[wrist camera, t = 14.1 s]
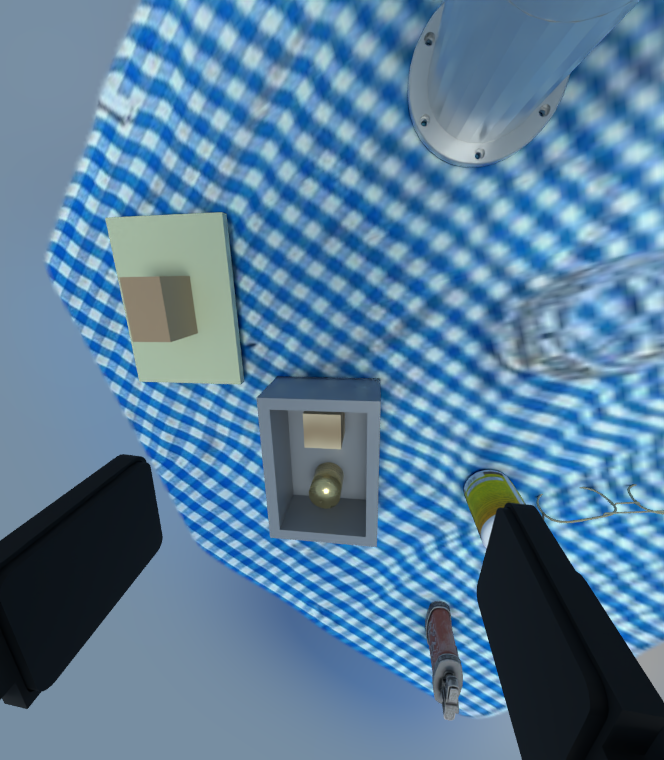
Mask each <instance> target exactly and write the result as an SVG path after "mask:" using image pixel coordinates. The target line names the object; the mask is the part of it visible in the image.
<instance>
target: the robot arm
mask: <svg viewBox="0 0 664 760" xmlns="http://www.w3.org/2000/svg"><path fill="white" fill-rule="evenodd" d="M639 1H640V0H445V1H444V2H443V4H442V5H441V6H440V7H439V8H438V9H437V10H436V12H435V13H434V14H433V15H432V17H431V19H430V20H429V22H428V23H427V25H426V26H425V28H424V30H423V32H422V34H421V36H420V38H419V41H418V43H417V45H416V47H415V51H414V54H413V58H412V62H411V65H410V72H409V78H408V105H409V113H410V116H411V119H412V123H413V126H414V128H415V130H416V132H417V134H418V136H419V138H420V140H421V141H422V142H423V143H424V145H425V146H426V147H427V148H428V149H429V151H431V152H432V153H433V154H434V155H436V156H437V157H438V158H440V159H441V160H444V161H446V162H448V163H450V164H452V165H457V166H462V167H482V166H486V165H491V164H495V163H497V162H499V161H502V160H504V159H506V158H508V157H510V156H511V155H513V154H515V153H516V152H518V151H519V150H521V149H522V148H523V147H524V146H525V145H527V144H528V143H529V142H530V141H531V140H532V139H533V138H534V137H535V136H536V135H537V134H538V133H539V132H540V131H541V130H542V129H543V128H544V127H545V125H546V124H547V123H548V121H549V120H550V119H551V117H552V116H553V114H554V113H555V111H556V109H557V107H558V105H559V103H560V101H561V99H562V97H563V95H564V91H565V88H566V85H567V82H568V79H569V76H570V73H571V72H572V71H573V70H574V69H575V68H576V67H577V66H578V65H579V63H580V62H581V61H582V60H583V59H584V58H585V57H586V56H587V55H588V54H589V53H590V52H591V51H592V50H593V49H594V48H595V47H596V46H597V45H598V44H599V43H600V42H601V41H602V39H603V38H604V37H605V36H606V35H607V34H608V33H609V32H610V31H611V30H612V29H613V28H614V27H615V26H616V25H617V24H618V23H619V22H620V21H621V20H622V19H623V18H624V17H625V15H626V14H627V13H628V12H629V11H630V10H631V9H632V8H633V7H634V6H635V5H636V4H637V3H638V2H639ZM426 43H430V44H431V45H430V46H427V45H426ZM539 112H541V113H542V115H543V116H540V115H539ZM422 122H426V123H427V125H426V126H422V125H421V123H422ZM475 154H479V156H480V158H479V159H476V158H475ZM161 543H162V531H161V525H160V519H159V514H158V507H157V501H156V496H155V490H154V484H153V478H152V472H151V467H150V465H149V464H148V463H147V462H146V460H145V459H144V458H143V457H140V456H133V455H124V454H123V455H119V456H117V457H116V458H115V459H113V460H111V461H110V462H109V463H107V464H106V465H105V466H103V467H102V468H100V469H99V470H98V471H96V472H95V473H93V474H92V475H91V476H89V477H88V478H86V479H85V480H84V481H82V482H81V483H80V484H78V485H77V486H75V487H74V488H73V489H71V490H70V491H68V492H67V493H66V494H64V495H63V496H61V497H60V498H59V499H57V500H56V501H55V502H53V503H52V504H50V505H49V506H48V507H46V508H45V509H43V510H42V511H41V512H40V513H38V514H37V515H35V516H34V517H33V518H31V519H30V520H28V521H27V522H26V523H24V524H23V525H21V526H20V527H19V528H17V529H16V530H14V531H13V532H12V533H10V534H9V535H7V536H6V537H5V538H4V539H2V540H1V541H0V699H1V698H2V699H3V701H4V703H5V704H9V705H13V706H17V707H22V708H25V709H28V708H29V706H30V705H31V704H32V703H33V701H34V700H35V699H36V698H37V696H38V695H39V694H40V693H41V691H44V690H46V689H48V688H49V687H50V686H52V684H53V683H54V682H55V681H56V680H57V678H58V677H59V676H60V675H61V673H62V672H63V671H64V670H65V668H66V667H67V666H68V665H69V663H70V662H71V661H72V659H73V658H74V657H75V655H76V654H77V653H78V652H79V650H80V649H81V648H82V647H83V646H84V644H85V643H86V641H87V640H88V639H89V638H90V636H91V635H92V634H93V633H94V632H95V630H96V629H97V628H98V626H99V625H100V624H101V623H102V621H103V620H104V619H105V617H106V616H107V615H108V614H109V612H110V611H111V610H112V609H113V607H114V606H115V605H116V603H117V602H118V601H119V600H120V598H121V597H122V596H123V595H124V593H125V592H126V591H127V590H128V588H129V587H130V586H131V584H132V583H133V582H134V581H135V579H136V578H137V577H138V575H139V574H140V573H141V572H142V570H143V569H144V568H145V567H146V565H147V564H148V563H149V562H150V560H151V559H152V558H153V556H154V555H155V554H156V552H157V551H158V550H159V548H160V546H161ZM477 600H478V605H479V608H480V612H481V615H482V619H483V622H484V626H485V629H486V633H487V637H488V640H489V644H490V647H491V651H492V654H493V658H494V661H495V665H496V669H497V672H498V676H499V679H500V683H501V686H502V690H503V693H504V697H505V701H506V704H507V708H508V711H509V715H510V718H511V722H512V725H513V729H514V733H515V736H516V739H517V743H518V747H519V750H520V754H521V757H522V760H664V702H663V700H662V699H661V697H660V696H659V694H658V693H657V691H656V690H655V688H654V686H653V685H652V683H651V682H650V680H649V679H648V677H647V675H646V674H645V672H644V671H643V669H642V668H641V666H640V665H639V663H638V661H637V660H636V658H635V657H634V655H633V654H632V652H631V650H630V649H629V647H628V646H627V644H626V643H625V641H624V639H623V638H622V636H621V635H620V633H619V632H618V630H617V629H616V627H615V625H614V624H613V622H612V621H611V619H610V618H609V616H608V615H607V613H606V611H605V610H604V608H603V607H602V605H601V604H600V602H599V601H598V599H597V597H596V596H595V594H594V593H593V591H592V590H591V588H590V587H589V585H588V583H587V582H586V581H585V579H584V578H583V577H582V576H581V574H579V573H578V572H576V571H575V569H574V568H573V566H572V564H571V563H570V561H569V560H568V558H567V556H566V555H565V553H564V552H563V550H562V548H561V547H560V545H559V544H558V542H557V541H556V539H555V537H554V536H553V534H552V533H551V531H550V529H549V528H548V526H547V525H546V523H545V521H544V520H543V518H542V517H541V515H540V514H539V512H538V510H537V509H536V508H535V507H534V506H532V505H526V504H518V503H510V502H508V503H506V504H505V506H504V508H498V509H497V511H496V514H495V518H494V522H493V526H492V530H491V534H490V538H489V542H488V545H487V549H486V553H485V557H484V561H483V565H482V569H481V573H480V576H479V580H478V584H477Z"/></svg>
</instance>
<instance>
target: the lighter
mask: <svg viewBox="0 0 664 760" xmlns="http://www.w3.org/2000/svg"><path fill="white" fill-rule="evenodd" d="M425 629H426V636H427V642H428V644H429V649H430V656H431V664H432V671H433V682H432V683H433V690H434V696H435V700H436V701H437V702H439V703H441V704H442V706H443V713H444V718H445V719H446V720H454V718H455V713H457V714H458V713H459V705H458V697H459V695H460V692H461V688H462V682H463V674H462V667H461V662H460V659H459V657H458V652H457V647H456V646H455V641H454V636H453V631H452V626H451V615H450V609H449V606H448V605H447V604H446V603H445V602H442V601H435V602H433V603H431V604H430V606H429V609H428V612H427V616H426V620H425Z"/></svg>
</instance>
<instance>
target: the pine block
mask: <svg viewBox="0 0 664 760" xmlns="http://www.w3.org/2000/svg"><path fill="white" fill-rule="evenodd" d="M303 427H304V446H305V448H323V449H341V448H342V443H343V439H344V434H345V412H325V411H304V412H303Z"/></svg>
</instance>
